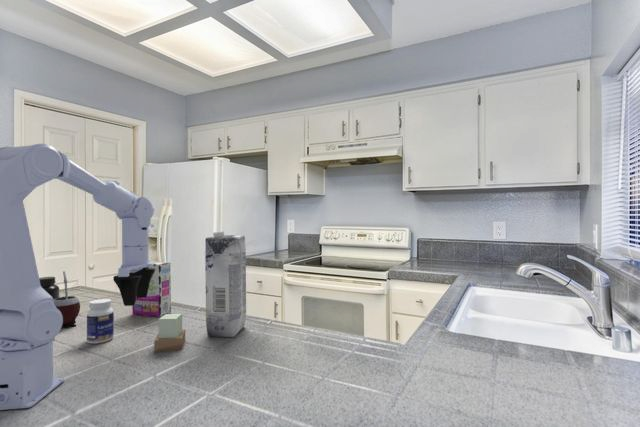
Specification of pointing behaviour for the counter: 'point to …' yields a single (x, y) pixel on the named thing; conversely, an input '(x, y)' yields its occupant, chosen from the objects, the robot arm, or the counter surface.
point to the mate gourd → (68, 307)
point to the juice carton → (225, 284)
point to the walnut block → (169, 343)
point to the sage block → (170, 326)
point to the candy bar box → (156, 293)
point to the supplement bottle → (50, 286)
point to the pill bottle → (100, 321)
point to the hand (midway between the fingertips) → (135, 301)
